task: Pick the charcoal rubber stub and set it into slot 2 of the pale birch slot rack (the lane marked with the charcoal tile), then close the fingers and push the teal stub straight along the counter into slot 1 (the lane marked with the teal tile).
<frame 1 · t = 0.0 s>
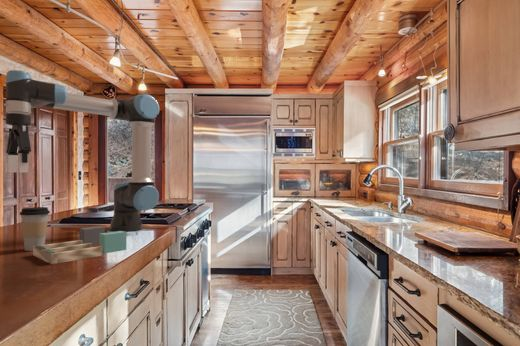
hand: (17, 172, 126), 28 cm above the countertop, fingers open, 13 cm apart
coffee cup: (34, 249, 126), on the countertop
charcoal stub: (92, 244, 136), on the countertop
slot rack: (70, 255, 118), on the countertop
teal stub: (113, 250, 125), on the countertop
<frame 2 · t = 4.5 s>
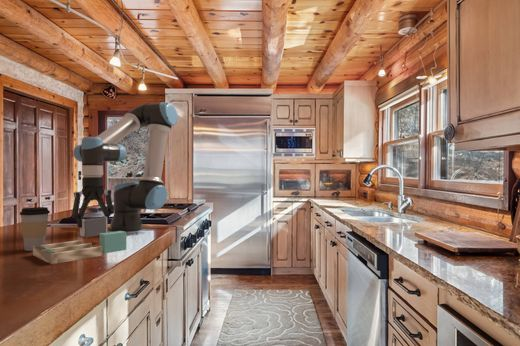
hand: (93, 234, 137), 4 cm above the countertop, fingers closed on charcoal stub, 8 cm apart
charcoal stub: (94, 235, 137), point 3 cm above the countertop, touching gripper
everything else where it was.
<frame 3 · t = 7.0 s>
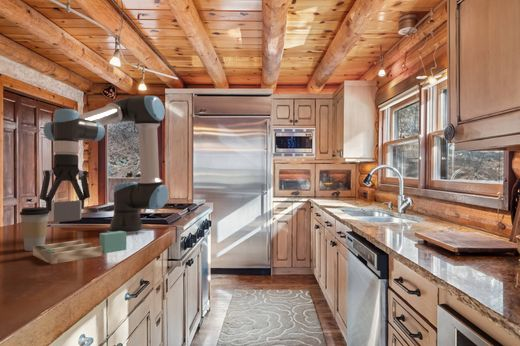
hand: (65, 219, 120), 12 cm above the countertop, fingers closed on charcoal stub, 8 cm apart
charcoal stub: (65, 220, 120), point 11 cm above the countertop, touching gripper
everything else where it was.
when the fingers open (0 cm above the countertop, at t = 9.3 s): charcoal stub stays where it is, resting in slot rack.
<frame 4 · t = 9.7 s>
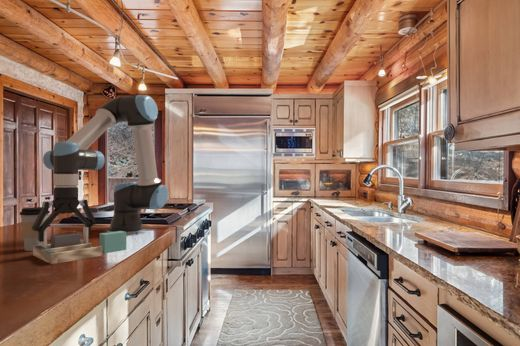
hand: (65, 248, 120), 2 cm above the countertop, fingers open, 13 cm apart
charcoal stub: (65, 253, 120), resting in slot rack
everything else where it was.
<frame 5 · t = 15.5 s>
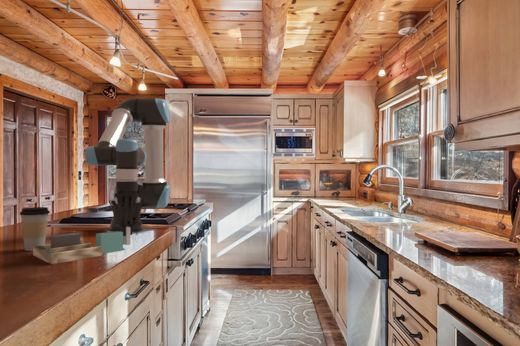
hand: (126, 244, 129), 1 cm above the countertop, fingers closed
teal stub: (109, 251, 124), on the countertop, touching gripper
everything else where it was.
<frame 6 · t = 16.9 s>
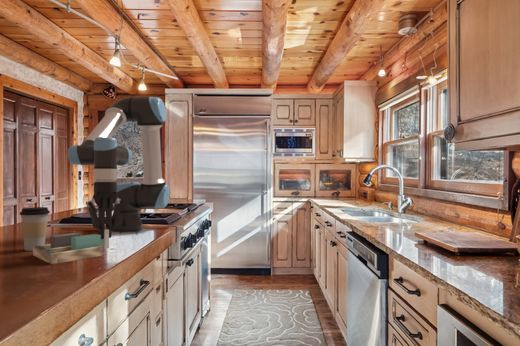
hand: (105, 247, 123), 2 cm above the countertop, fingers closed
teal stub: (86, 255, 118), resting in slot rack, touching gripper
everything else where it was.
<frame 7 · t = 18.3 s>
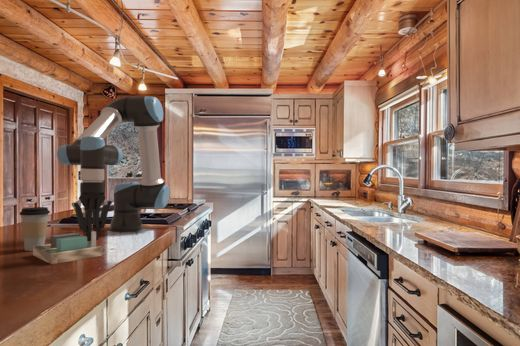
hand: (92, 249, 119), 1 cm above the countertop, fingers closed
teal stub: (72, 257, 114), resting in slot rack, touching gripper
everything else where it was.
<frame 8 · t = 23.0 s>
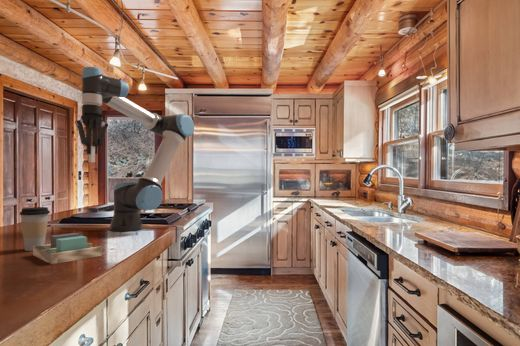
hand: (91, 162, 144), 32 cm above the countertop, fingers closed
teal stub: (71, 257, 114), resting in slot rack
everything else where it was.
at the end: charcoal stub inside the target area on the slot rack (0.0 cm from its centre), point 0.0 cm above the slot rack's base; teal stub inside the target area on the slot rack (0.9 cm from its centre), point 0.0 cm above the slot rack's base; the gripper is holding nothing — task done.
